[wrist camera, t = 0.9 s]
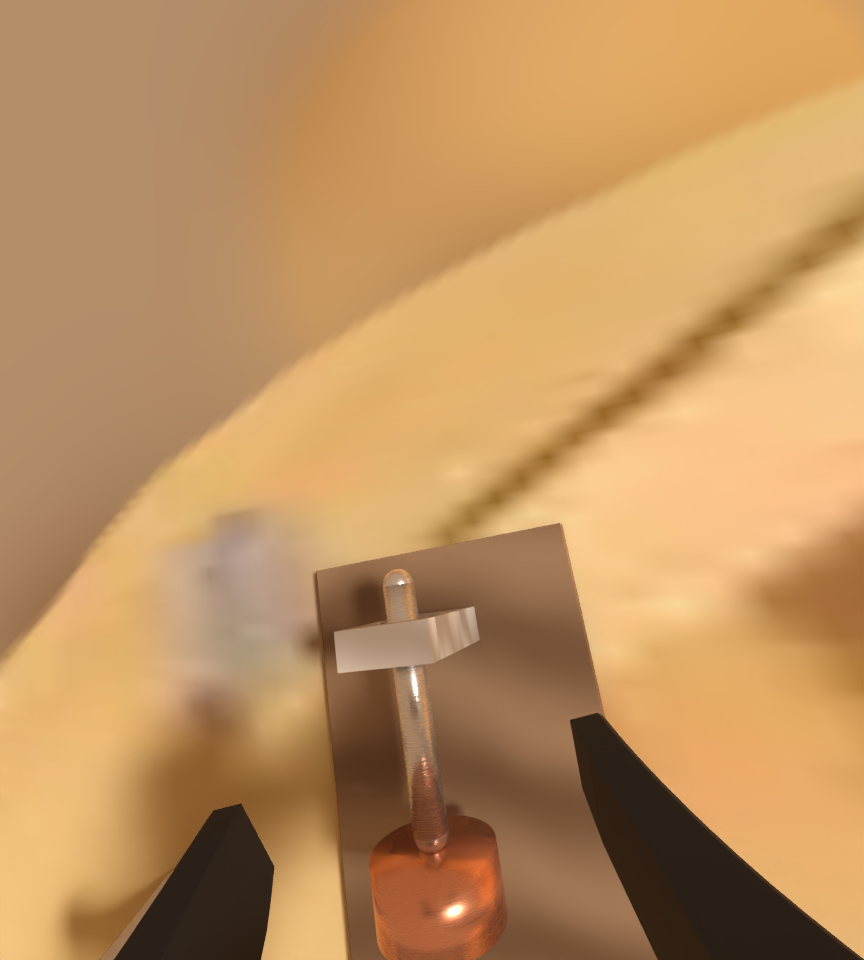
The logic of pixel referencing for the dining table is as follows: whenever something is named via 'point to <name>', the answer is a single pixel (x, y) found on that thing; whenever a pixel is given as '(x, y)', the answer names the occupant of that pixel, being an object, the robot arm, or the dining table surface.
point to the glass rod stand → (431, 839)
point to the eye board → (478, 733)
